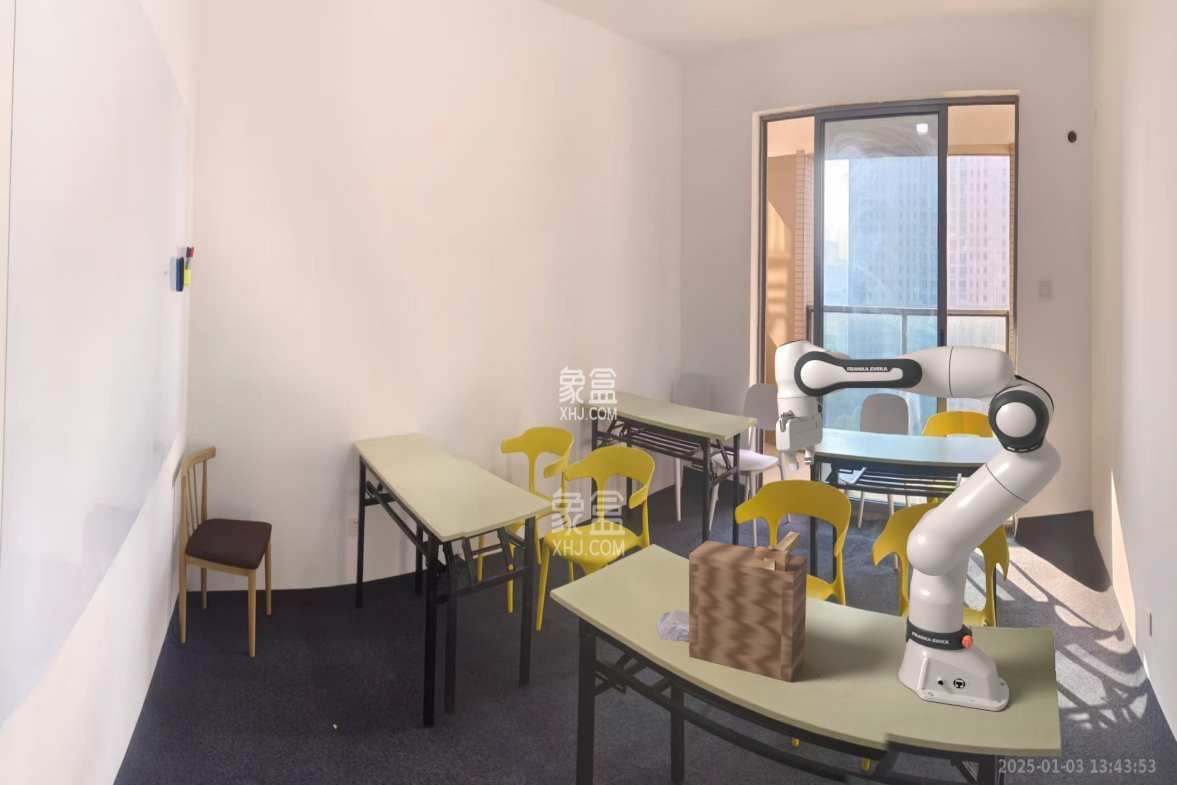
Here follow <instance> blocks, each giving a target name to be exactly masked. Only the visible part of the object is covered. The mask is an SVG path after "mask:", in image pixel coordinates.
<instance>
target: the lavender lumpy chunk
mask: <svg viewBox="0 0 1177 785" xmlns="http://www.w3.org/2000/svg"><path fill="white" fill-rule="evenodd" d="M657 631H658V632H657V633H658V635H659V637H660V638H661V640H664V641H670V642H674V641H675V642H689V610H680V609H679V610H677V609H676V610H672V611H667V612H664V613H662V616H661V617H660V619H659V620H658V624H657Z"/></svg>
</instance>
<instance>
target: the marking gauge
mask: <svg viewBox="0 0 1177 785" xmlns="http://www.w3.org/2000/svg"><path fill="white" fill-rule="evenodd" d="M800 539H801V533H800V532H795V531H789V532H788V533H787V534H786V535H785V536H784V537H783V539H781V540H780V541H779V542H778V543H777V545H773V544H769V545H768V547H767V546H766V547H765V546H761V545H759V546H757V547H755V566H756V567H761V568H764V569H769V570H777V571H783V572H785V571H786V570H787V569H788V555H791V553H792V551H794V549H795V548H796V547H798V545H799V544H800V541H801V540H800Z"/></svg>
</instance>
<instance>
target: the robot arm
mask: <svg viewBox="0 0 1177 785" xmlns="http://www.w3.org/2000/svg"><path fill="white" fill-rule="evenodd" d="M774 353H775V354H774V376H775V377H774V378H775V383H776V385H777V394H776V395H777V396H776V401H777V413H778V414H777V415H778V420H777V421H776V424H775V425H776V426H775V444H776V445H775V447H776V451H777V452H778V453H779V454H781V453H782V454H785V458H786V460H787V462H788V467H789V471H791V472H792V471H798V470H799V469H800V462H799V461H798V459H797V455H798V454H797V452H798V451H800V450H803V449H804V450H805V456H804V464H805V466H811V465H814V463H815V453H816V445H818V444H819V445H820V444H821V443H822V441H823V436H824V434H823V433H824V432H823V431H824V430H823V417H822V414H823V413H824V406H823V404H821V403H820V402H819V401H818V400H817V398H818V397H822V396H826V395H830V394H836V393H840V392H842V391H844V390H847V389H887V390H888V389H889V390H896V391H901V392H906V393H910V394H911V393H912V394H916V395H922V396H927V397H933V398H942V399H943V398H945V399H974V400H978V401H981V402H983V403H985V404H986V405H987V406H989V408H988V411H987V420H988V424H989V426H990V429H991V430H992V432H993V433H994V435H995V437H996V438H997V440H998V442H999V443H1000V444H1001V448H1000V449H999V450H998V451H997V452H996V453H995V454H994V455H993V456H992V457H991V458H989V459H988V460H987V461H986V462H985V463H984V464H983V465H981V466H980V467H979V468H978V469H977V470H976V471H974V473H972V474H971V475H970V476H969V477H968V478H966V479H965V480H964V481H963V482H961V484H960V485H958V486H957V488H956V489H955V490H954V491H953V492H952V493H951V494H949V495H948V496H947V497H946V498H945V499H944V500H943V501H942V502H941V503H940V504H939V505H938V506H936V507H933V508H931V509H929V510H928V511H926V512H925V513H924V514H923V516H922V517H921V518H920V519H919V521H917V523H916V525H915V527H914V528H912V529H911V532H910V533H909V535H908V537H907V540H906V541H907V542H906V543H907V544H906V556H907V560H908V562H909V563H910V564H911V566H912V567H913V568H912V569H913V570H912V574H911V575H912V576H911V581H910V585H909V601H908V615H907V617H906V619H905V628H904V629H905V630H904V633H905V634H904V637H905V643H906V644H905V649H904V653H903V659H902V662H901V665H900V667H899V670H898V672H897V676H898V678H899V680H900V682H901V683H902V684H904V685H905V686H906V687H907V688H909V689H911V690H912V691H913V692H915V693H916V694H917V695H918V696H919V697H920V698H921V699H922V700H925V701H929V702H934V703H941V704H942V703H943V704H947V705H948V704H949V705H953V706H961V707H967V708H973V709H974V708H975V709H980V710H985V711H986V710H987V711H993V712H998V711H1001V710H1003V709H1004V708H1006V707H1007V705H1008V704H1009V702H1010V700H1009V699H1010V689H1009V685H1008V684H1007V682H1006V681H1005V680H1004V679H1003V678H1002V677H1000V676H999V673H998V669H997V666H996V662H994V660H993V658H991V657H990V656H989V655H988V654H986V653H985V652H984V651H983V650H982V649H981V648H979V647H978V646H977V645H976V644H974V639H973V629H972V626H971V625H969V627H967V626H966V625H965V624H964V623H963V622H964V609H965V608H964V607H965V606H964V605H965V593H966V584H967V578H968V571H969V562H970V555H971V554H972V553H973V552H974V551H976V549H977V548H979V546H981V544H982V543H984V542H985V541H986V540H987V539H988V538H989V537H990V536H991V535H992V534H993V533H994V532H995V531H996V530H997V529H999V527H1000V526H1001V525H1003V524H1004V523H1005V522H1006V521H1008V520H1009V519H1010V518H1011V517H1012V516H1014V515H1015V514H1016V513H1017V512H1018V511H1020V510H1021V509H1022V508H1024V507H1025V506H1026V505H1027V504H1028V503H1029V502H1030V501H1032V500H1033V499H1034V498H1035V497H1037V495H1039V494H1040V493H1041V492H1042V491H1043V490H1044V489H1045V488H1046V487H1047V485H1048V484H1049V483H1050V482H1051V481H1052V480H1053V479H1054V477H1055V476H1056V475H1057V474H1058V472H1060V469H1061V467H1062V458H1061V455H1060V453H1059V452H1058V450H1057V448H1055V446H1054V445H1053V444H1051V442H1049V441H1048V439H1047V437H1046V434H1047V431H1048V429H1049V427H1050V425H1051V423H1052V420H1053V416H1054V410H1055V404H1054V401H1053V398H1052V396H1051V394H1050V393H1049V392H1048V391H1047V390H1046V389H1045V388H1044V387H1043V386H1041V385H1038V384H1037V383H1035V382H1033V381H1031V380H1030V379H1029V380H1028V379H1027V378H1025V377H1023V376H1020V374H1019V375H1018V374H1015V367H1014V363H1013V361H1012V358H1011V357H1010V355H1009V353H1006V352H1005V351H1003V350H1001V349H997V348H991V347H984V346H973V345H971V346H969V345H947V346H945V345H944V346H936V347H935V346H934V347H928V348H924V349H920V350H915V351H912V352H908V353H905V354H901V355H897V356H892V357H886V358H861V359H860V358H858V359H857V358H854V359H852V358H851V356H849V355H847V354H846V353H844V352H841V351H836V350H831V349H827V348H823V347H820V346H818V345H815V344H813V343H811V342H810V341H809V340H807V339H796V340H792V341H788V342H785V343H783V344H780V345H779V346H778V347H777V348H776V351H775V352H774Z"/></svg>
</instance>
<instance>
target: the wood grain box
mask: <svg viewBox="0 0 1177 785" xmlns="http://www.w3.org/2000/svg"><path fill="white" fill-rule="evenodd" d="M755 549H756V547H748V546H742V545H736V544H731V543H726V542H718V541H714V540H705V541H704V542H703V543H701V545H699V546H698V547H696V548H695V549H694V550H693V551H692V552H691V553H689V554H688V593H689V594H688V612H689V641H688V656H689V658H695V659H698V660H702V661H706V662H708V663H713V664H717V665H721V666H726V667H729V668H733V669H737V670H741V671H744V672H748V673H752V674H756V675H760V676H763V677H768V678H772V679H774V680H778V681H783V682H787V683H792V682H793V680H794V679H795V677H796V676H797V674H798V672H799V670H800V669H801V667H802V666H803V664H804V663H805V659H806V658H805V654H806V653H805V652H806V651H805V650H806V647H805V646H806V616H807V615H806V610H807V576H808V575H807V574H808V571H807V570H808V569H807V568H808V557H807V556H799V555H793V554H789V555H788V569H787V570H786V571H785V572H783V571H777V570H769V569H764V568H761V567H756V566H755Z"/></svg>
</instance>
